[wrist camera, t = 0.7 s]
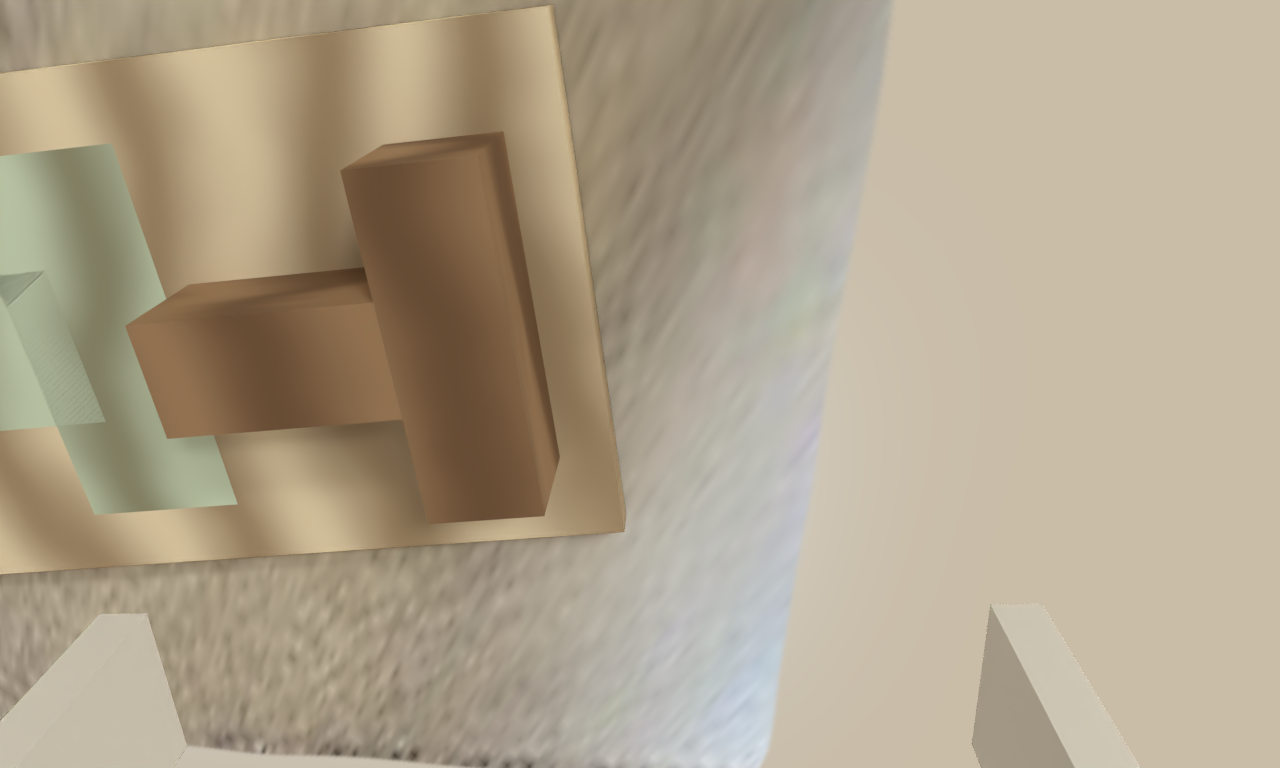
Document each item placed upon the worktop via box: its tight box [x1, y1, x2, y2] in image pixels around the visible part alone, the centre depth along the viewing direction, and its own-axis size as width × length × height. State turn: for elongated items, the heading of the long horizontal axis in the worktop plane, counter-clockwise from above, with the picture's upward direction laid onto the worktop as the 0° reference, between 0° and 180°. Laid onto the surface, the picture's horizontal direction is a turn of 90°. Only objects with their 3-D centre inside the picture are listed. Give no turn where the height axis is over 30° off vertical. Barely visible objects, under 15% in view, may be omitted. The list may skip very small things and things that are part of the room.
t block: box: [125, 131, 560, 524], centre depth 31 cm, size 12×12×4 cm
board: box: [0, 5, 626, 574], centre depth 34 cm, size 30×19×1 cm, turn 97°
